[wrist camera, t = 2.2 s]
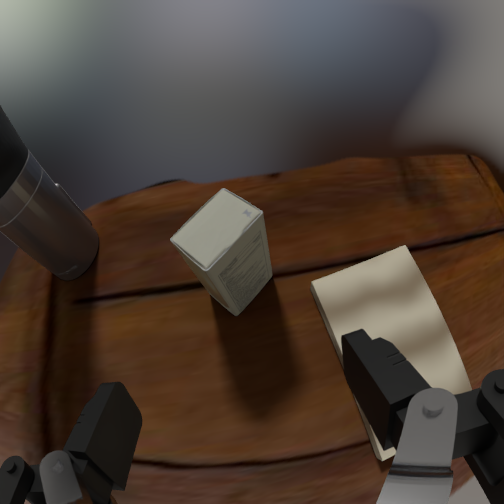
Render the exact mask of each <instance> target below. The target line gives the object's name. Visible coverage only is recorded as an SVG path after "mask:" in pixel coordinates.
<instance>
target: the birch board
mask: <svg viewBox="0 0 504 504" xmlns="http://www.w3.org/2000/svg"><path fill="white" fill-rule="evenodd" d="M310 290H311V292H312V294H313V297H314V299H315V301H316V304H317V306H318V308H319V311H320V313H321V316H322V318H323V320H324V323H325V325H326V327H327V330H328V332H329V335H330V337H331V340H332V342H333V344H334V347H335V349H336V352H337V354H338V357H339V359H340V362H341V364H342V367H343V369H344V366H343V355H342V345H341V336H342V335H344V334H347V333H350V332H353V331H356V330H359V329H364V330H365V332H366V333H367V334H368V335H369V336H370V338H371V339H372V340H374V339H376V338H379V337H381V338H383V339H385V340H387V341H390V342H392V343H393V344H394V345H395V346H396V348H397V349H398V350H399V351H400V353H402V354H403V355H404V356H405V358H406V360H407V361H409V362H410V363H411V364H412V365H413V367H414V368H415V369H416V370H417V371H418V372H419V373H420V375H421V376H422V377H423V378H424V379H425V380H426V381H427V383H428V384H429V385H430V386H431V387H432V388H442V389H445V390H448V391H449V392H451V393H452V394H453V395H455V394H461V393H464V392H468V391H471V390H472V388H471V385H470V382H469V379H468V377H467V374H466V371H465V368H464V366H463V363H462V360H461V358H460V355H459V353H458V350H457V348H456V345H455V343H454V341H453V338H452V336H451V334H450V331H449V329H448V327H447V324H446V322H445V320H444V318H443V316H442V314H441V311H440V309H439V307H438V305H437V303H436V301H435V299H434V297H433V295H432V293H431V291H430V289H429V287H428V285H427V283H426V282H425V280H424V278H423V276H422V274H421V272H420V270H419V269H418V267H417V265H416V263H415V261H414V260H413V258H412V256H411V254H410V253H409V251H408V249H407V247H406V246H405V245H404V246H401V247H399V248H396V249H394V250H392V251H389V252H387V253H384V254H382V255H379V256H377V257H375V258H372V259H370V260H367V261H365V262H362V263H360V264H357V265H354V266H352V267H349V268H347V269H344V270H342V271H339V272H336V273H334V274H331V275H328V276H326V277H323V278H320V279H318V280H315V281H312V282H311V287H310ZM353 395H354V394H353ZM354 398H355V396H354ZM355 400H356V398H355ZM356 403H357V405H358V408H359V411H360V413H361V416H362V419H363V421H364V424H365V427H366V430H367V432H368V435H369V438H370V441H371V444H372V446H373V449H374V452H375V455H376V458H378V459H380V460H381V461H384V460H386V459H388V458H390V457H391V456H393V455H395V454H396V450H395V448H394V447H392V448H390V449H388V450H385V451H383V449H382V447H381V445H380V443H379V441H378V439H377V437H376V435H375V433H374V432H373V430H372V428H371V426H370V424H369V422H368V420H367V418H366V417H365V415H364V413H363V411H362V409H361V407H360V405H359V404H358V402H357V400H356Z"/></svg>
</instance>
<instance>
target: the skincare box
mask: <svg viewBox="0 0 504 504" xmlns="http://www.w3.org/2000/svg"><path fill="white" fill-rule="evenodd" d="M170 240H171V242H172V243H173V245H174V246H175V247H176V249H177V250H178V252H179V253H180V254H181V256H182V257H183V259H184V260H185V261H186V263H187V264H188V265H189V267H190V268H191V270H192V271H193V272H194V274H195V275H196V276H197V278H198V279H199V280H200V282H201V283H202V284H203V286H204V287H205V288H206V290H207V291H208V292H209V294H210V295H211V296H212V297H214V298H215V299H216V300H217V301H218V302H219V303H220V304H221V305H222V306H224V307H225V308H226V309H227V310H228V311H230V312H231V313H232V314H233V315H234V316H238V315H239V314H240V313H241V312H242V311H243V310H244V309H245V308H246V307H247V305H248V304H249V303H250V302H251V301H252V300H253V299H254V298H255V296H256V295H257V294H258V293H259V292H260V291H261V289H262V288H263V287H264V286H265V285H266V283H267V282H268V281H269V280H270V278H271V277H272V269H271V262H270V256H269V249H268V242H267V236H266V229H265V223H264V216H263V212H262V211H261V210H259V209H258V208H256V207H255V206H253V205H251V204H250V203H248V202H247V201H245V200H244V199H242V198H240V197H239V196H237V195H235V194H234V193H232V192H230V191H228V190H226V189H224V188H223V189H221V190H220V191H219V192H218V193H217V194H215V195H214V196H213V197H212V198H211V199H210V200H209V201H208V202H206V203H205V204H204V205H203V206H202V207H201V208H200V209H199V210H198V211H197V212H196V213H195V214H194V215H193V216H192V217H191V218H190V219H189V220H188V221H187V222H186V223H185V224H184V225H183V226H182V227H181V228H180V229H179V230H178V231H177V233H176V234H175V235H174V236H173V237H172V238H171V239H170Z"/></svg>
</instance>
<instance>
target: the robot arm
mask: <svg viewBox="0 0 504 504" xmlns="http://www.w3.org/2000/svg"><path fill="white" fill-rule="evenodd" d="M0 231H1V232H2V233H3V234H4V235H5V236H6V237H8V238H9V239H10V240H11V241H12V242H13V243H15V244H16V245H17V246H18V247H19V248H21V249H22V250H23V251H24V252H26V253H27V254H28V255H29V256H31V257H32V258H33V259H34V260H36V261H37V262H38V263H40V264H41V265H42V266H44V267H45V268H46V269H48V270H49V271H50V272H52V273H53V274H55V275H56V276H57V277H59V278H60V279H62V280H72V279H75V278H77V277H79V276H80V275H81V274H83V273H84V272H85V271H86V270H87V269H88V268H89V266H90V265H91V263H92V262H93V260H94V258H95V256H96V253H97V250H98V245H99V238H98V234H97V232H96V231H95V229H94V228H93V227H92V226H91V221H90V220H89V219H88V218H87V216H86V215H85V214H84V213H83V212H82V211H81V210H80V208H78V206H77V205H76V204H75V203H74V201H73V200H72V199H71V198H70V197H69V196H68V194H67V193H66V192H65V191H64V189H63V188H62V187H61V186H60V185H59V184H54V182H53V181H52V179H51V178H50V177H49V176H48V175H47V173H46V172H45V171H44V169H43V168H42V167H41V166H40V164H39V163H38V162H37V161H36V159H35V158H34V157H33V155H32V154H31V153H30V151H29V150H28V148H27V147H26V146H25V145H24V143H23V142H22V140H21V139H20V137H19V135H18V134H17V132H16V130H15V128H14V127H13V125H12V124H11V122H10V120H9V119H8V117H7V116H6V114H5V113H4V111H3V109H2V108H1V106H0ZM341 345H342V355H343V366H344V373H345V377H346V380H347V383H348V385H349V387H350V389H351V391H352V392H353V394H354V396H355V398H356V400H357V402H358V404H359V405H360V407H361V409H362V411H363V413H364V415H365V417H366V418H367V420H368V422H369V424H370V426H371V428H372V430H373V432H374V433H375V435H376V437H377V439H378V441H379V443H380V445H381V447H382V449H383V451H385V450H388V449H390V448H392V447H394V448H395V450H396V454H395V457H394V460H393V463H392V466H391V468H390V470H389V473H388V475H387V478H386V480H385V483H384V486H383V488H382V491H381V493H380V496H379V498H378V501H377V503H376V504H447V503H448V500H449V496H450V491H451V487H452V482H453V471H451V460H452V459H456V458H459V457H462V456H463V457H464V458H465V460H466V462H467V463H468V465H469V467H470V468H471V470H472V472H473V473H474V475H475V477H476V478H477V480H478V482H479V484H480V485H481V487H482V489H483V490H484V493H485V494H486V496H487V498H488V500H489V502H490V503H491V504H504V369H499V370H495V371H492V372H490V373H489V374H488V375H486V377H485V378H484V379H483V381H482V384H481V387H480V388H478V389H474V390H471V391H468V392H464V393H461V394H455V395H453V394H452V393H451V392H449V391H448V390H445V389H442V388H432V387H431V386H430V385H429V384H428V383H427V381H426V380H425V379H424V378H423V377H422V376H421V375H420V373H419V372H418V371H417V370H416V369H415V368H414V367H413V365H412V364H411V363H410V362H409V361H407V360H406V358H405V356H404V355H403V354H402V353H400V351H399V350H398V349H397V348H396V346H395V345H394V344H393V343H392V342H390V341H387V340H385V339H383V338H381V337H379V338H376V339H374V340H372V339H371V338H370V336H369V335H368V334H367V333H366V332H365V330H364V329H359V330H356V331H353V332H350V333H347V334H344V335H342V336H341ZM80 415H81V416H79V418H78V420H77V424H75V426H74V428H73V430H72V432H71V434H70V436H69V438H68V440H67V442H66V444H65V446H64V448H63V450H62V451H53V452H51V453H49V454H48V455H46V456H45V457H44V458H43V460H42V461H41V463H40V464H39V465H30V466H29V465H28V464H27V463H26V462H25V461H24V460H23V459H22V458H21V457H20V456H12V457H9V458H8V459H7V460H5V461H4V463H3V464H2V466H1V468H0V504H24V502H25V499H26V500H28V501H29V502H30V503H31V504H117V502H116V500H115V498H114V497H113V496H112V495H111V491H112V489H113V490H122V491H125V487H126V482H127V478H128V474H129V471H130V467H131V463H132V459H133V455H134V452H135V448H136V444H137V441H138V437H139V434H140V430H141V426H142V416H141V413H140V410H139V409H138V407H137V406H136V404H135V402H134V401H133V399H132V398H131V396H130V395H129V393H128V391H127V390H126V388H125V386H124V385H123V384H122V383H121V382H111V383H102V384H101V385H100V386H99V388H98V390H97V392H96V394H95V396H94V397H93V398H92V399H91V400H90V401H89V402H88V403H87V404H86V405H85V406H84V408H83V410H82V412H81V414H80Z"/></svg>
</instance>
